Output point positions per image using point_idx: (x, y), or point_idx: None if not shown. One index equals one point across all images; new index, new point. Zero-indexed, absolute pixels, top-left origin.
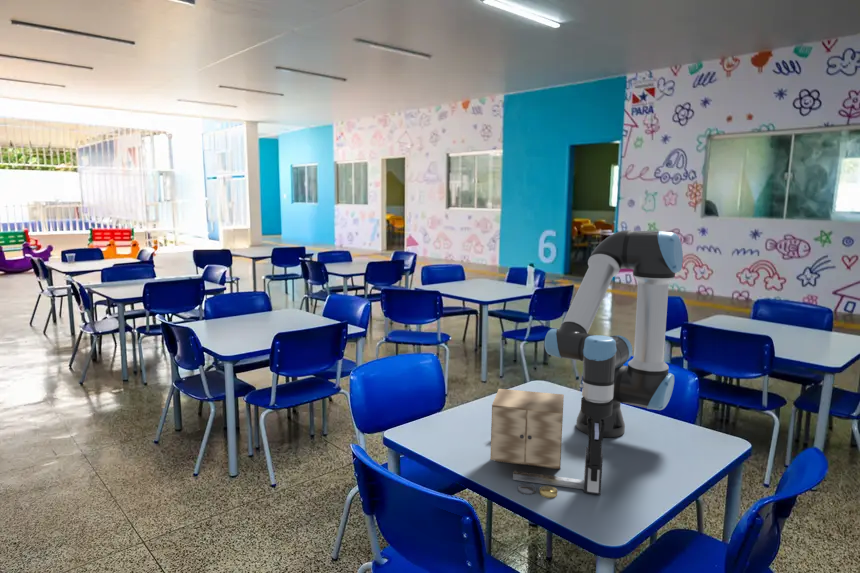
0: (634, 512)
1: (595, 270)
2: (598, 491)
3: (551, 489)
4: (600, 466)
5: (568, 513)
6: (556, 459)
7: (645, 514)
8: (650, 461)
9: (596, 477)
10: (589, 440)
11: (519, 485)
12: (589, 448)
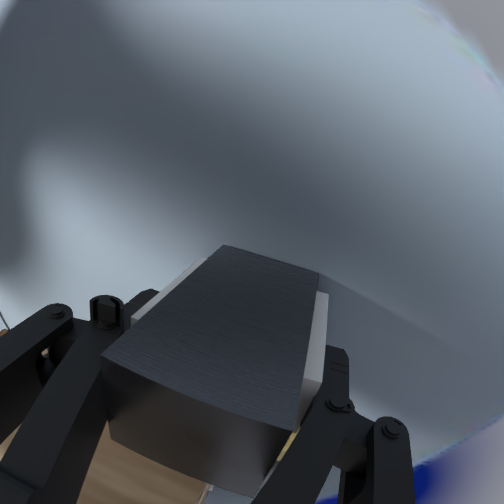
0: (471, 167)
1: None
2: (328, 298)
3: (288, 440)
4: (392, 434)
5: (428, 416)
6: (204, 491)
7: (484, 124)
8: (43, 6)
9: (347, 370)
10: (86, 470)
11: (261, 487)
12: (132, 437)
